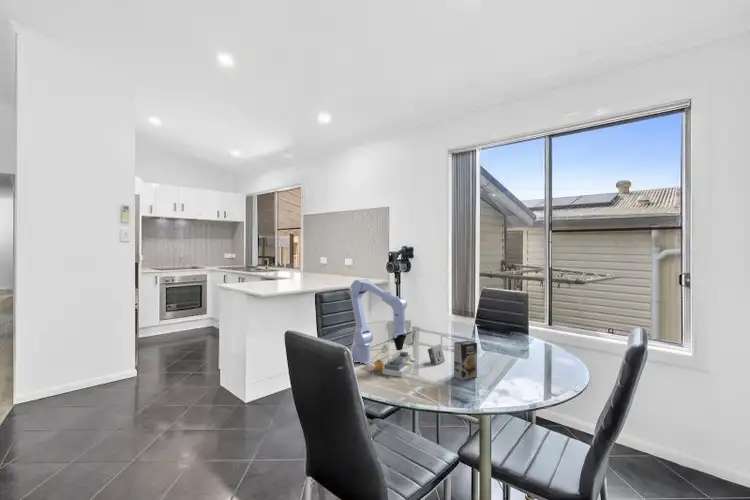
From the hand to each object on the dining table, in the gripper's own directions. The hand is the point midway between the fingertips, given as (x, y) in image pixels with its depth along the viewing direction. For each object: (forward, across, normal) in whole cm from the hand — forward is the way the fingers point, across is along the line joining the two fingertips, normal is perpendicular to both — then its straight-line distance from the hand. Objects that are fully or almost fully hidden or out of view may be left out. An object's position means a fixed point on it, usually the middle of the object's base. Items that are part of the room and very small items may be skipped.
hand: (399, 349), depth 185 cm
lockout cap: (+10, -7, +8) cm, 14 cm away
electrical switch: (+10, +18, -14) cm, 25 cm away
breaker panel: (+9, -1, -1) cm, 10 cm away
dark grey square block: (+7, 0, 0) cm, 7 cm away
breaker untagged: (+5, +6, 0) cm, 8 cm away
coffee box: (+10, +1, -33) cm, 34 cm away
